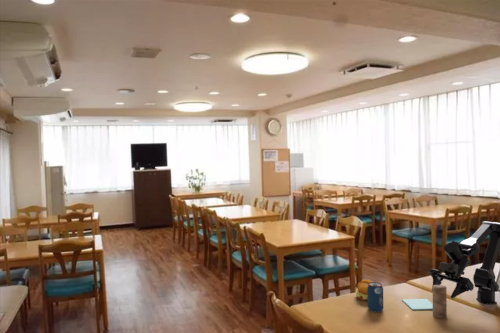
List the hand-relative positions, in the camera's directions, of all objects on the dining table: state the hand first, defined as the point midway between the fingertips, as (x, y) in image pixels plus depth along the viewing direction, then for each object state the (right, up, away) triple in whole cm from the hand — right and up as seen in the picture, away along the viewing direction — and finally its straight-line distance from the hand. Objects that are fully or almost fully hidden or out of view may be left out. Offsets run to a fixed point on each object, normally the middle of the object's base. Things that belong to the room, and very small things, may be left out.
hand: (441, 294), depth 173 cm
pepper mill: (-1, -9, 0) cm, 9 cm away
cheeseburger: (-26, -9, +23) cm, 36 cm away
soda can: (-27, -10, +8) cm, 29 cm away
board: (-4, -9, +13) cm, 16 cm away
